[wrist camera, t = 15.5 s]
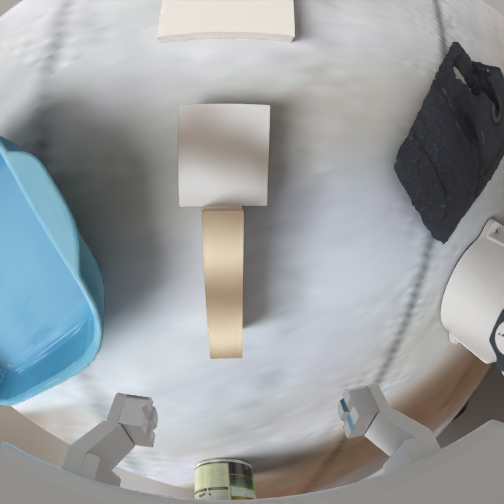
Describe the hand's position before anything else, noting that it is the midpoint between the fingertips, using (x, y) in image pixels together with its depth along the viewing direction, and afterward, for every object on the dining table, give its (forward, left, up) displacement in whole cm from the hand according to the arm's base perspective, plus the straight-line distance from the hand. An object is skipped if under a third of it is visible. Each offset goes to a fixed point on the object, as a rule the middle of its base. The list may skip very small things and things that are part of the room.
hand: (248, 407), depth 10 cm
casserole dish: (+27, +2, -14) cm, 30 cm away
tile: (+1, -19, -13) cm, 23 cm away
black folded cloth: (-24, -14, -14) cm, 31 cm away
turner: (+1, -4, -14) cm, 14 cm away
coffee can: (+3, +39, -14) cm, 42 cm away
